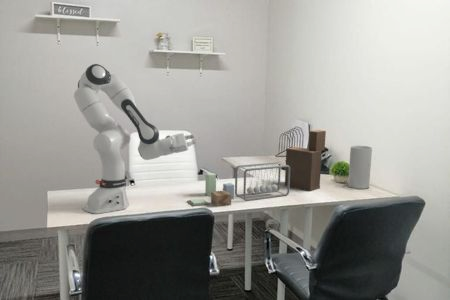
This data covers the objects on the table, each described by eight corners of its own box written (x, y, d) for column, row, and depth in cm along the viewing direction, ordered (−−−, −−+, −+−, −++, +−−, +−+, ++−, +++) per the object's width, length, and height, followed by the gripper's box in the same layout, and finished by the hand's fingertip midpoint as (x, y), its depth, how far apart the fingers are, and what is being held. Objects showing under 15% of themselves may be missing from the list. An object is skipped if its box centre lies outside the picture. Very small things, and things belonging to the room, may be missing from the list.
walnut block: (216, 207, 214) (216, 195, 213) (211, 202, 221) (211, 191, 220) (230, 205, 217) (231, 194, 216) (224, 201, 224) (225, 190, 223)
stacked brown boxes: (323, 187, 257) (326, 130, 251) (310, 191, 247) (313, 132, 241) (297, 181, 270) (300, 127, 264) (284, 185, 260) (286, 129, 254)
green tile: (192, 206, 214) (192, 204, 213) (187, 201, 222) (187, 199, 222) (209, 204, 217) (209, 202, 217) (202, 199, 225) (203, 197, 225)
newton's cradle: (243, 201, 224) (244, 169, 221) (234, 196, 233) (235, 165, 230) (289, 195, 238) (290, 165, 235) (278, 191, 247) (280, 161, 244)
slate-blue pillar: (226, 200, 226) (226, 185, 225) (223, 197, 230) (223, 183, 229) (233, 199, 228) (234, 185, 226) (230, 197, 232) (230, 183, 231)
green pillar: (208, 196, 233) (208, 175, 231) (205, 194, 237) (205, 173, 235) (215, 195, 235) (216, 174, 233) (212, 193, 239) (213, 172, 237)
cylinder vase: (343, 185, 263) (346, 146, 259) (358, 183, 268) (361, 145, 264) (358, 190, 252) (361, 149, 248) (373, 188, 258) (376, 148, 253)
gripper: (168, 146, 211) (195, 139, 212) (166, 134, 230) (190, 128, 231) (172, 157, 213) (198, 150, 214) (169, 145, 232) (193, 138, 233)
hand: (194, 138), depth 223 cm, fingers open, 8 cm apart
